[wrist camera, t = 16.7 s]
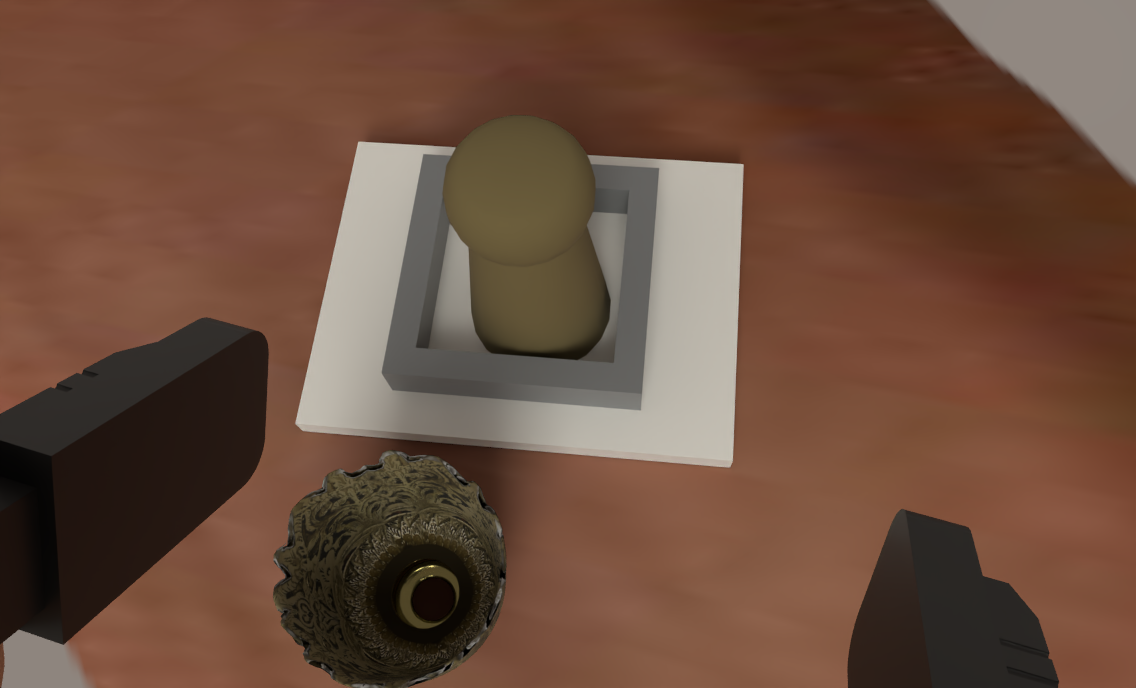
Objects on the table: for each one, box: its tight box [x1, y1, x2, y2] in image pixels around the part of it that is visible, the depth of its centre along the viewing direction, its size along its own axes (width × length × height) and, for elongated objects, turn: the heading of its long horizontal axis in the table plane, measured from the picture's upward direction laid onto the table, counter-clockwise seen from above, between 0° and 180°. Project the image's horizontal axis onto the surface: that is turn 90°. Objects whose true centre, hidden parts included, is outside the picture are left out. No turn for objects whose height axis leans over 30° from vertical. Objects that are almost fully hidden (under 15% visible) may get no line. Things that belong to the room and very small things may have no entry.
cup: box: [273, 450, 506, 688], centre depth 33 cm, size 8×7×8 cm
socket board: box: [295, 142, 743, 468], centre depth 40 cm, size 18×14×3 cm
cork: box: [442, 115, 611, 360], centre depth 35 cm, size 6×6×11 cm
